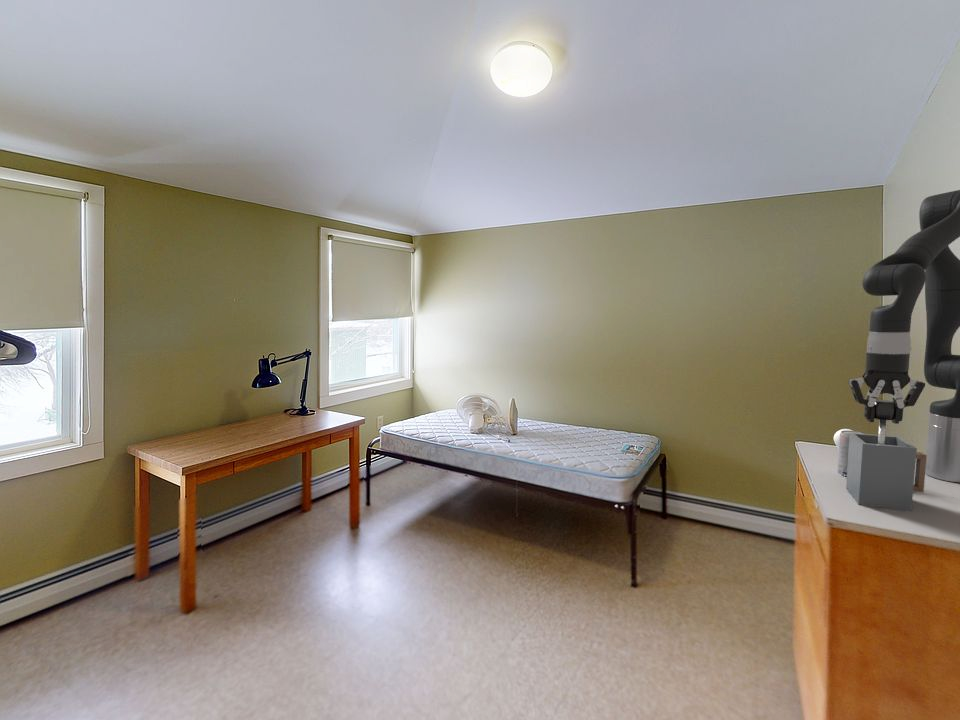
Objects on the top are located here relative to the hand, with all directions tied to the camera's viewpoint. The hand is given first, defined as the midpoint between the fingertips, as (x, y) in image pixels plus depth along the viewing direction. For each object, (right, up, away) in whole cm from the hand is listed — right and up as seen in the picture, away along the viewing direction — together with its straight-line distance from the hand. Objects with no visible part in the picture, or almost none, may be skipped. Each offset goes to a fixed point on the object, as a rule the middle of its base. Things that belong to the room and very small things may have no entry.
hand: (882, 421), depth 106 cm
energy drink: (+7, -18, +18) cm, 26 cm away
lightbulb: (+11, -17, +25) cm, 32 cm away
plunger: (+1, -16, +2) cm, 16 cm away
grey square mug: (+2, -19, +2) cm, 20 cm away
